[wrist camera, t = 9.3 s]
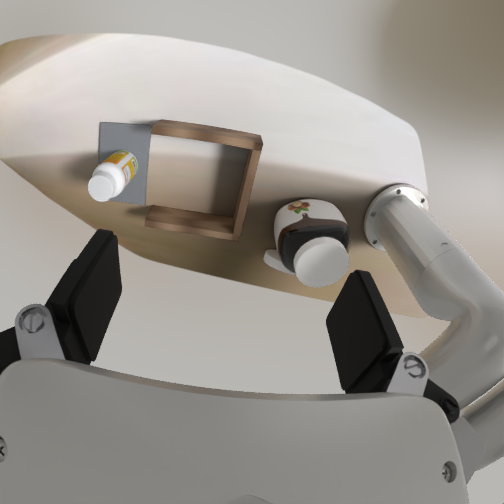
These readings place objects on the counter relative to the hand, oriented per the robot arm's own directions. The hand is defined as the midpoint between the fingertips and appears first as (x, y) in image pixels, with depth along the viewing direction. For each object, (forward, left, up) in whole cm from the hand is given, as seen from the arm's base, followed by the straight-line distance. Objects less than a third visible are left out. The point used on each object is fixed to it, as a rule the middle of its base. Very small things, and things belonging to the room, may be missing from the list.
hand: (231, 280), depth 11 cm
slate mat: (+15, +7, -29) cm, 34 cm away
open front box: (+4, +7, -29) cm, 30 cm away
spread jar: (-13, +13, -30) cm, 35 cm away
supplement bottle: (+15, +7, -29) cm, 33 cm away
